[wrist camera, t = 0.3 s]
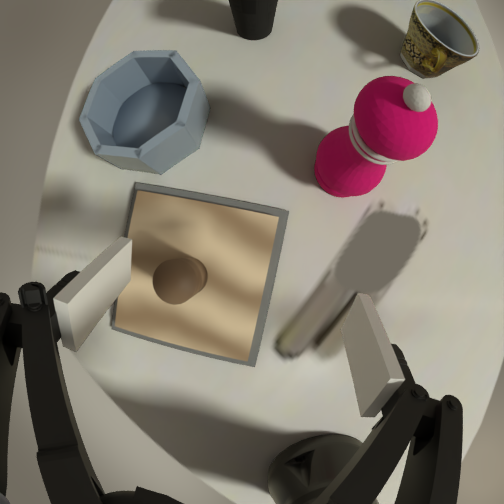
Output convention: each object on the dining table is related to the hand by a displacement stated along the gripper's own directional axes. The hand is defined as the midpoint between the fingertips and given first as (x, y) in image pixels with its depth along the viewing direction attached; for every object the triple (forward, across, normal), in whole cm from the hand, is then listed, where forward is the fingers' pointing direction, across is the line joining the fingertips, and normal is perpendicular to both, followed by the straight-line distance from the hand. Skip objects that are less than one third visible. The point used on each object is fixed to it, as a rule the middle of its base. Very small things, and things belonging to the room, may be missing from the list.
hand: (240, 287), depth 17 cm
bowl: (+22, +15, -6) cm, 27 cm away
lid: (+14, +5, +9) cm, 18 cm away
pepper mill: (+20, -8, -5) cm, 23 cm away
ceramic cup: (+28, -18, -24) cm, 41 cm away
